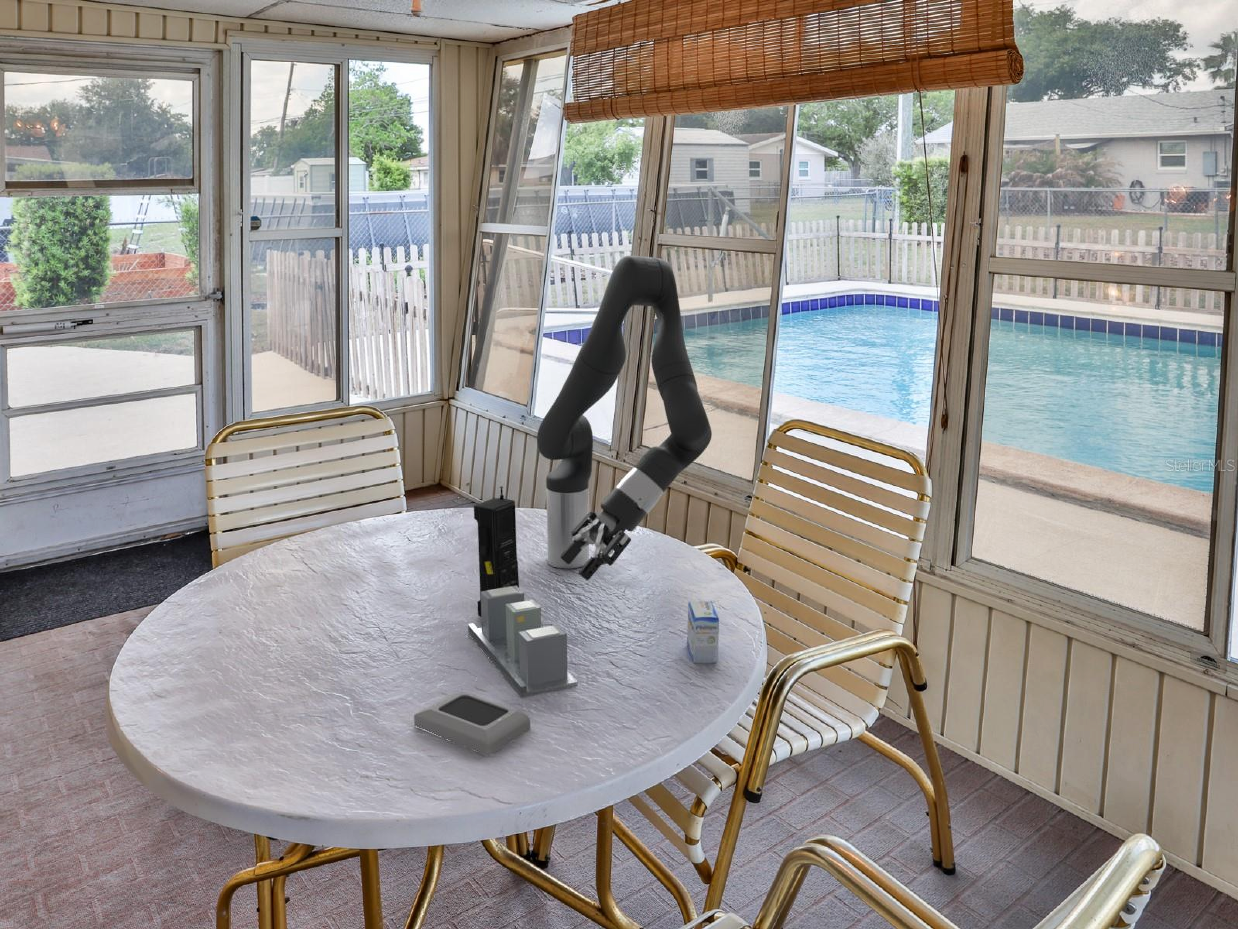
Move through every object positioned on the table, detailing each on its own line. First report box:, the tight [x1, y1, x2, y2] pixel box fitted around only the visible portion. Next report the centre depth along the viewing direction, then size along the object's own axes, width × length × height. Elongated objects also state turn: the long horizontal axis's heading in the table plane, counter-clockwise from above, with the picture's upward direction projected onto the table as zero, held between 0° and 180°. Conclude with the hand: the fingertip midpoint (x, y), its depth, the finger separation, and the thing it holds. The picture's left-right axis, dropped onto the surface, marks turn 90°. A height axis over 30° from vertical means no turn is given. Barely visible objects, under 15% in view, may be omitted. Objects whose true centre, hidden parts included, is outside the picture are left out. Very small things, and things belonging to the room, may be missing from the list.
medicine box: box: [686, 600, 720, 664], centre depth 182 cm, size 8×4×9 cm, turn 5°
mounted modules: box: [480, 586, 568, 686], centre depth 180 cm, size 24×7×8 cm, turn 26°
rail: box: [467, 622, 579, 699], centre depth 181 cm, size 28×10×2 cm, turn 26°
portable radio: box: [473, 486, 520, 618], centre depth 197 cm, size 8×6×25 cm
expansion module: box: [506, 599, 542, 661], centre depth 180 cm, size 4×5×9 cm
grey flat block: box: [413, 690, 531, 757], centre depth 157 cm, size 10×4×15 cm
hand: (573, 569), depth 182 cm, fingers open, 8 cm apart
